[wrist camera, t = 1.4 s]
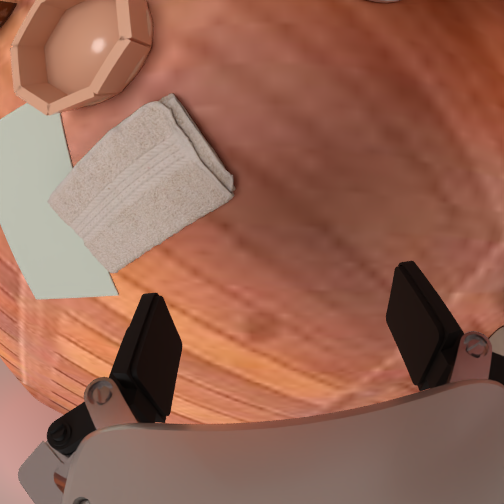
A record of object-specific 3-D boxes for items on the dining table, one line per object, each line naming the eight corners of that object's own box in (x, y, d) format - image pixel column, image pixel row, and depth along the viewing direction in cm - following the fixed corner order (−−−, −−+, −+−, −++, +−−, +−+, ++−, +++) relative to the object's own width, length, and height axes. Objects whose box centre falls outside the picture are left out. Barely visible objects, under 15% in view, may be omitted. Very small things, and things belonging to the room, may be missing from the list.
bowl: (39, 20, 16) (8, 16, 11) (148, -29, 16) (128, -49, 11) (51, 122, 23) (19, 132, 18) (161, 84, 22) (140, 83, 17)
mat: (-24, 136, 22) (-25, 136, 22) (56, 87, 21) (55, 88, 21) (36, 298, 35) (36, 299, 35) (118, 294, 34) (118, 295, 34)
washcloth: (244, 184, 28) (244, 195, 25) (118, 269, 32) (109, 285, 30) (171, 84, 22) (162, 83, 20) (54, 195, 27) (39, 205, 24)
